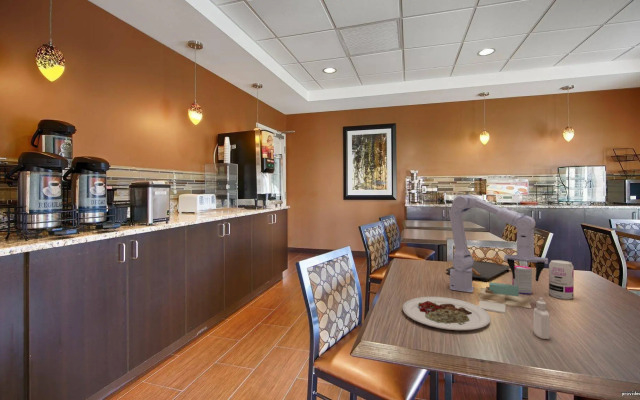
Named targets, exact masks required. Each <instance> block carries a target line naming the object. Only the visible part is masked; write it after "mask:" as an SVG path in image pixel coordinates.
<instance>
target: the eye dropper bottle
mask: <svg viewBox="0 0 640 400" xmlns="http://www.w3.org/2000/svg"><path fill="white" fill-rule="evenodd" d="M532 319H533V321H532V323H533V325H532V327H533V328H532V329H533V331H532V332H533V333H534V335H535V336H536V337H538V338H540V339H542V340H550V337H551V335H550V332H551V331H550V327H551V325H550V324H551V323H550V321H551V320H550V314H549V312H548V310H547V302H545V301H544V298H543V297H539V299H538V300H537V301H536V307H534V309H533V318H532Z"/></svg>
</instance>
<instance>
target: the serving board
mask: <svg viewBox="0 0 640 400" xmlns="http://www.w3.org/2000/svg"><path fill="white" fill-rule="evenodd" d="M473 260H474V259H473ZM485 260H486V261H485ZM487 260H488V261H487ZM451 269H455V268H454V267H453V266H451V267H449V268H446V269H445V271H446V272H447V274H448V275H449V274H450V270H451ZM471 269H472V278H477V279H482V280H481V281H482V282H484V283H486V282H488V280H489V279H491V278H494V277H495V276H498V275H500V274H502V273H503V272H505V270H508V271H509V269H510V266H509V265H508V264H507V265H506V264H503V263H501V262H500V261H498V259H495V258H492V257H482V258H480V259H477V260H474V265H473V266H472V267H471Z"/></svg>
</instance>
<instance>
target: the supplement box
mask: <svg viewBox="0 0 640 400" xmlns="http://www.w3.org/2000/svg"><path fill="white" fill-rule="evenodd" d="M511 278H512V280H511V281H512V282H511V285H516V286H518V287H519V295H532V293H533V292H532V290H533V289H532V287H533V285H532V283H533V282H532V281H533V279H532V278H533V270H532V268H530V267H529V266H526V265H515V279H513V275H512V277H511Z"/></svg>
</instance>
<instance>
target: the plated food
mask: <svg viewBox="0 0 640 400" xmlns="http://www.w3.org/2000/svg"><path fill="white" fill-rule="evenodd" d="M478 306H479V305H476V304H473V303H471V302H468V301H465V300H461V299H456V298H452V297H451V298H450V297H444V296H422V297H421V296H420V297H414V298H412V299H409V300H406V301H405V302H403V304H402V311H403V312H404V314H405V315H406V317H408V318H410V319H412V320H413V321H415V322H418V323H419V324H423V325H426V326H429V327H433V328H437V329H443V330H448V331H449V330H452V331H453V330H454V331H472V330H477V329H482V328H484V327H486V326H488V325H489V324H490V322H491V315H490V314H489V313H488V312H487V311H486V310H484V309H482V308H480V307H478Z"/></svg>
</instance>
